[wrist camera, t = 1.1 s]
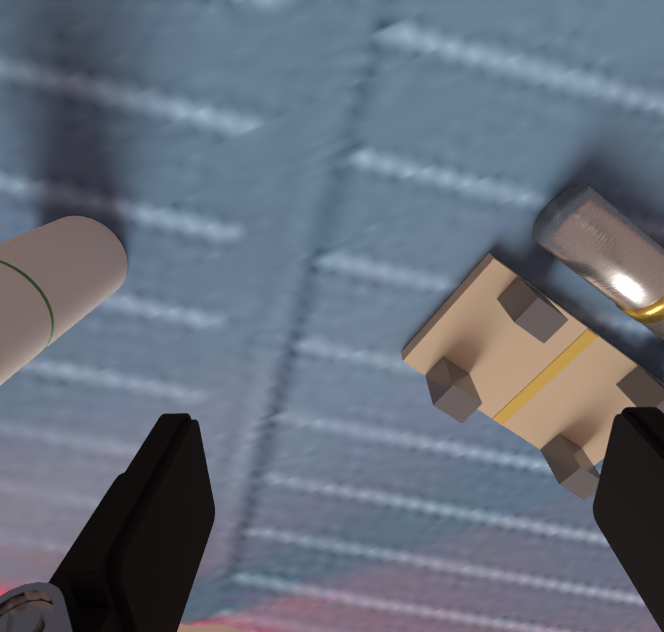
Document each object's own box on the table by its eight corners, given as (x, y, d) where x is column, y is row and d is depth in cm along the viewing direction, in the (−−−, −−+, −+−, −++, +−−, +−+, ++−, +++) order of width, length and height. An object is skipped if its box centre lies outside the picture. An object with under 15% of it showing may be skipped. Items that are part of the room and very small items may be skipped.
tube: (521, 232, 37) (547, 252, 32) (571, 177, 35) (606, 189, 30) (687, 360, 41) (731, 394, 36) (740, 317, 39) (793, 347, 34)
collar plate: (488, 252, 37) (512, 278, 32) (669, 387, 42) (716, 429, 37) (400, 352, 42) (408, 389, 36) (574, 464, 46) (603, 512, 41)
